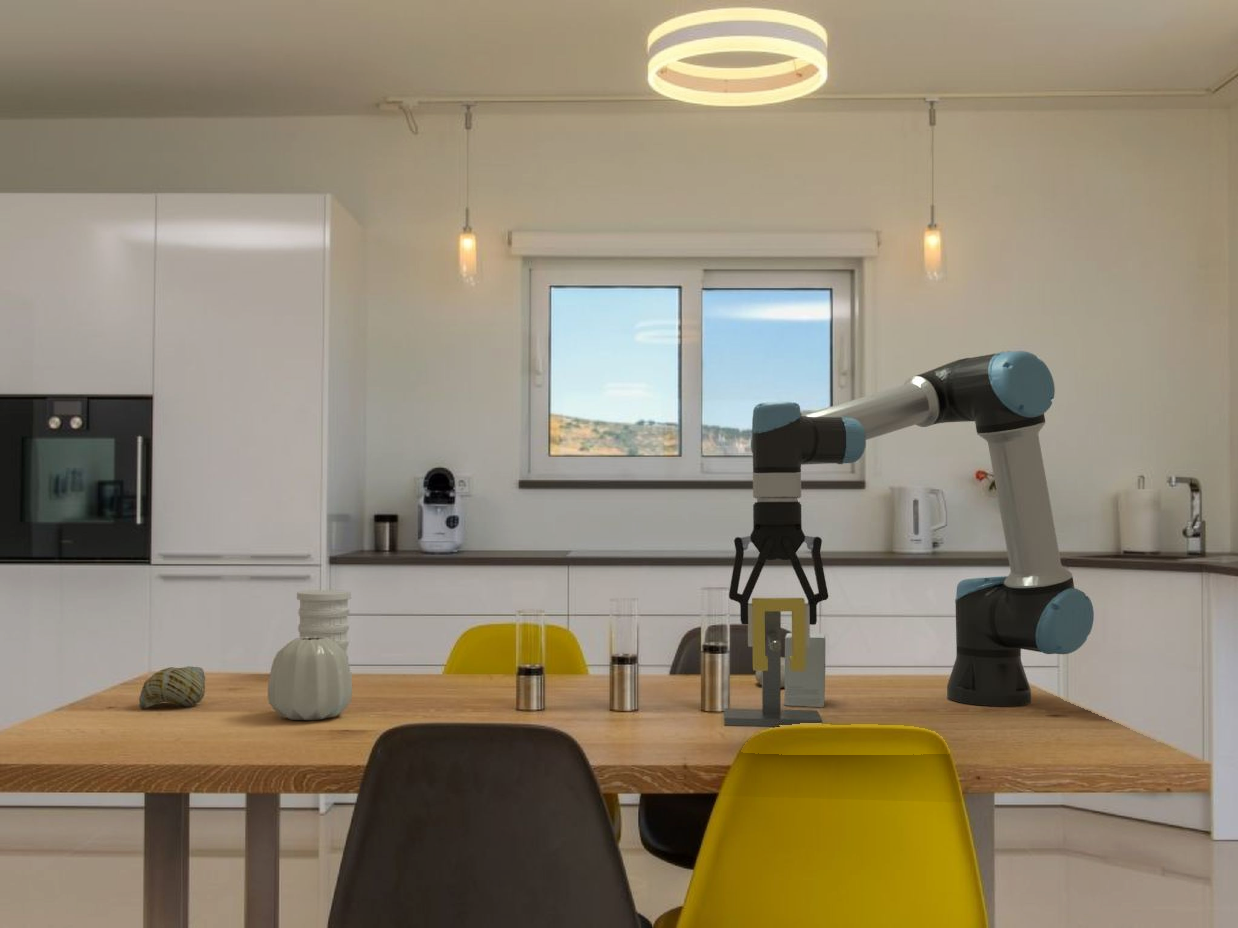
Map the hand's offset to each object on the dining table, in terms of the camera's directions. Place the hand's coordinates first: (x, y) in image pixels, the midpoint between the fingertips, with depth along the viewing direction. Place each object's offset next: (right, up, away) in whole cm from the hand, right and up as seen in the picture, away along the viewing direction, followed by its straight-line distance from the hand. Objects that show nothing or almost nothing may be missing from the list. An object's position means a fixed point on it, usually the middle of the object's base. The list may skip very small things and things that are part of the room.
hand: (778, 645), depth 178 cm
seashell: (-104, -15, +24) cm, 108 cm away
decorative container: (-86, -16, +56) cm, 104 cm away
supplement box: (+9, -16, +32) cm, 37 cm away
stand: (0, -15, +10) cm, 18 cm away
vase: (-77, -15, +15) cm, 80 cm away
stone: (+8, -17, +53) cm, 56 cm away
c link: (0, -4, 0) cm, 4 cm away
